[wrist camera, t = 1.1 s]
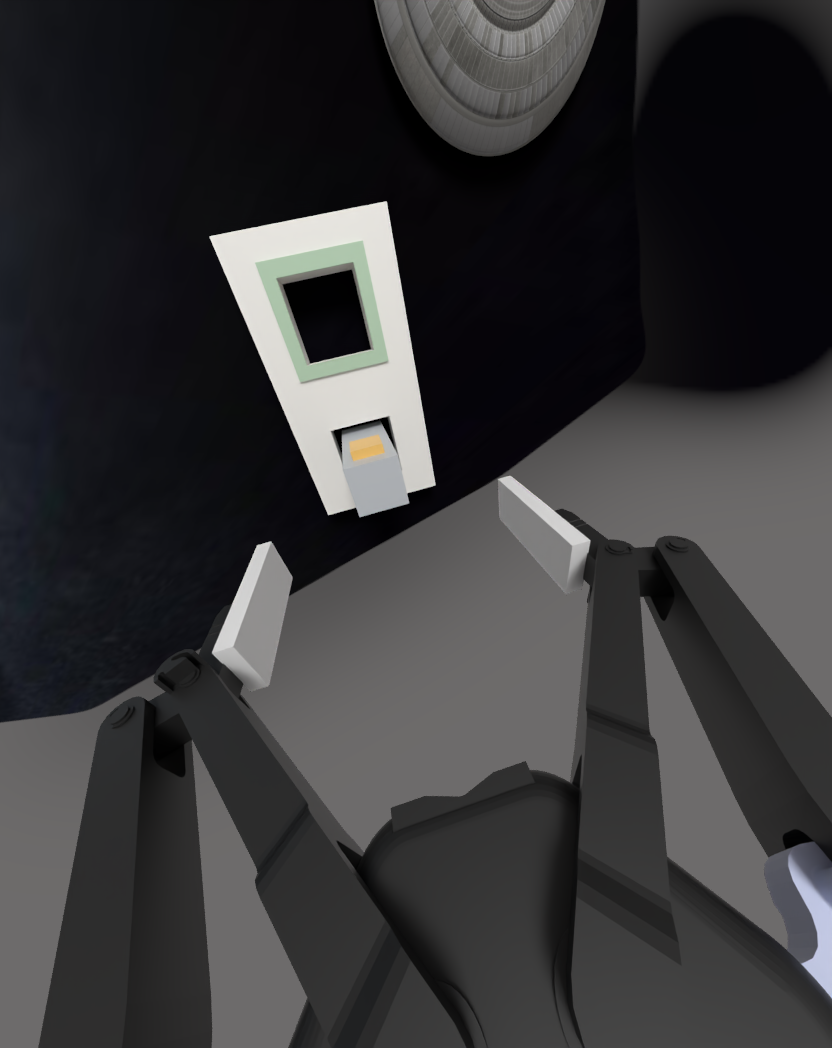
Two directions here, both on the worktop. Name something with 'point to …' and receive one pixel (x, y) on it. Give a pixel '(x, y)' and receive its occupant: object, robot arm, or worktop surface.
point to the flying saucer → (489, 64)
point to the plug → (372, 469)
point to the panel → (344, 382)
